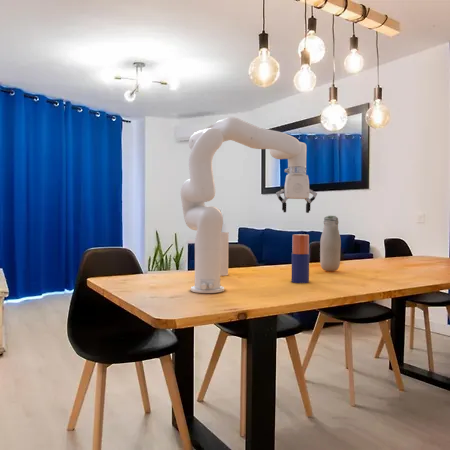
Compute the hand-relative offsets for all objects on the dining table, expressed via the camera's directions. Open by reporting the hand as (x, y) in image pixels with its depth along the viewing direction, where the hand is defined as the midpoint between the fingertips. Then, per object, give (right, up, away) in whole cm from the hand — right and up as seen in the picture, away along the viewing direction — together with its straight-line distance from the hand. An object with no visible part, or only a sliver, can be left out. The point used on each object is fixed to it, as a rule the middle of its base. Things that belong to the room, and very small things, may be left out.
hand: (296, 212), depth 185 cm
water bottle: (+2, -29, 0) cm, 29 cm away
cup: (+2, -17, 0) cm, 17 cm away
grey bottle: (+23, -29, +35) cm, 51 cm away
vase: (-33, -29, +23) cm, 50 cm away
